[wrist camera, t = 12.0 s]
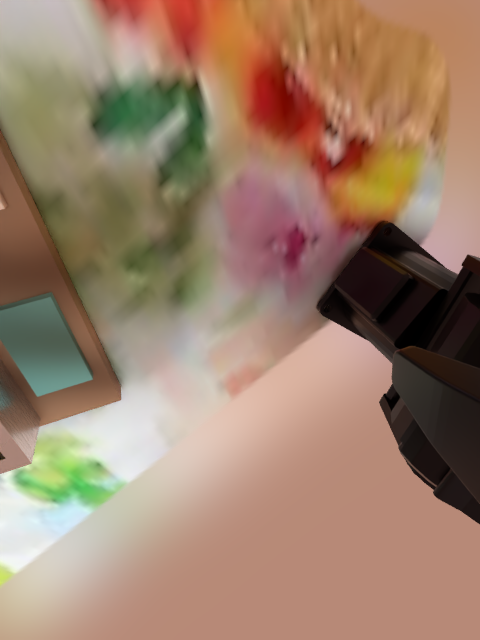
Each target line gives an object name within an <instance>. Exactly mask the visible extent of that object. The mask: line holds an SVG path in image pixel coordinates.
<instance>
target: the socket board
mask: <svg viewBox="0 0 480 640" xmlns="http://www.w3.org/2000/svg"><path fill="white" fill-rule="evenodd" d="M0 358H1V360H2V361H3V363H4V364H5V366H6V367H7V369H8V370H9V372H10V373H11V375H12V376H13V378H14V379H15V381H16V382H17V384H18V385H19V387H20V388H21V390H22V391H23V393H24V394H25V396H26V397H27V399H28V400H29V402H30V403H31V405H32V406H33V408H34V409H35V411H36V412H37V414H38V415H39V417H40V418H41V420H40V425H39V427H40V426H43V425H46V424H49V423H52V422H55V421H58V420H61V419H64V418H67V417H70V416H73V415H76V414H79V413H82V412H86V411H89V410H92V409H95V408H98V407H101V406H104V405H107V404H110V403H113V402H116V401H119V400H121V386H120V384H119V382H118V380H117V377H116V375H115V373H114V371H113V369H112V367H111V365H110V362H109V360H108V358H107V356H106V354H105V352H104V350H103V348H102V345H101V343H100V341H99V339H98V337H97V335H96V333H95V330H94V328H93V326H92V324H91V322H90V320H89V318H88V316H87V313H86V311H85V309H84V307H83V305H82V303H81V301H80V298H79V296H78V294H77V292H76V290H75V288H74V286H73V284H72V281H71V279H70V277H69V275H68V273H67V271H66V269H65V266H64V264H63V262H62V260H61V258H60V256H59V254H58V252H57V249H56V247H55V245H54V243H53V241H52V239H51V237H50V234H49V232H48V230H47V228H46V226H45V224H44V222H43V220H42V217H41V215H40V213H39V211H38V209H37V207H36V205H35V202H34V200H33V198H32V196H31V194H30V192H29V190H28V188H27V185H26V183H25V181H24V179H23V177H22V175H21V173H20V170H19V168H18V166H17V164H16V162H15V160H14V158H13V156H12V153H11V151H10V149H9V147H8V145H7V143H6V141H5V138H4V136H3V134H2V132H1V130H0Z"/></svg>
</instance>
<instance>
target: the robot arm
mask: <svg viewBox="0 0 480 640" xmlns="http://www.w3.org/2000/svg"><path fill="white" fill-rule="evenodd" d="M386 228H387V231H386V232H385V233H384V230H385V229H386ZM462 266H463V268H462V269H461V271H460V273H459V274H456V273H454V272H452V271H450V270H449V269H447V268H445V267H444V266H443V265H442V264H441V263H440V262H438V261H437V260H436V259H435V258H434V257H432V256H431V255H430V254H429V253H428V252H426V251H425V250H424V249H423V248H422V247H420V246H419V245H418V244H417V243H416V242H414V241H413V240H412V239H411V238H410V237H408V236H407V235H406V234H405V233H404V232H402V231H401V230H400V229H399V228H398V227H396V226H395V225H394V224H392V223H390V222H388V221H383V222H381V223H380V224H379V225H378V226H377V227H376V229H375V230H374V231H373V233H372V234H371V235H370V237H369V238H368V239H367V241H366V242H365V243H364V244H363V246H362V247H361V248H360V250H359V251H358V252H357V254H356V255H355V256H354V258H353V259H352V260H351V261H350V263H349V264H348V265H347V267H346V268H345V269H344V271H343V272H342V273H341V275H340V276H339V277H338V279H337V280H336V281H335V282H334V284H333V285H332V286H331V288H330V289H329V290H328V292H327V293H326V294H325V296H324V297H323V298H322V299H321V301H320V302H319V304H318V306H317V309H318V311H319V312H320V313H321V314H322V315H323V316H325V317H326V318H328V319H330V320H332V321H334V322H335V323H337V324H339V325H341V326H343V327H345V328H346V329H348V330H350V331H352V332H353V333H355V334H357V335H359V336H361V337H363V338H364V339H366V340H368V341H370V342H371V343H372V344H373V345H374V346H375V347H376V348H377V349H378V350H379V351H380V352H381V353H382V354H383V355H384V356H385V357H386V358H387V359H388V360H389V361H390V362H391V363H392V364H393V366H392V383H393V384H392V385H391V387H390V389H389V390H388V392H387V393H386V394H384V395H383V397H382V398H381V400H380V402H379V403H380V406H381V408H382V410H383V412H384V414H385V417H386V419H387V421H388V423H389V425H390V428H391V430H392V432H393V434H394V437H395V439H396V441H397V443H398V445H399V450H400V452H401V454H402V456H403V457H404V459H405V460H406V462H407V464H408V465H409V466H410V468H411V469H412V471H413V473H414V474H415V475H417V476H418V477H419V478H420V479H421V480H422V481H423V482H425V483H426V484H427V485H428V486H430V487H431V488H432V489H433V490H434V492H433V493H434V495H435V496H436V497H437V498H438V499H440V500H442V501H443V502H445V503H447V504H449V505H451V506H452V507H455V508H456V509H458V510H460V511H462V512H463V513H464V514H466V515H467V516H469V517H470V518H471V519H473V520H475V521H476V522H477V523H479V524H480V258H478V257H475V256H471V255H467V257H466V258H465V260H464V262H463V263H462ZM327 305H328V307H327V308H326V309H324V308H325V307H326V306H327Z"/></svg>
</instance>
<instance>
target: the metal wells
mask: <svg viewBox="0 0 480 640" xmlns="http://www.w3.org/2000/svg"><path fill="white" fill-rule="evenodd" d="M40 420H41V418H40V417H39V415H38V414H37V412H36V411H35V409H34V408H33V406H32V405H31V403H30V402H29V400H28V399H27V397H26V396H25V394H24V393H23V391H22V390H21V388H20V387H19V385H18V384H17V382H16V381H15V379H14V378H13V376H12V375H11V373H10V372H9V370H8V369H7V367H6V366H5V364H4V363H3V361H2V360H1V358H0V474H2V473H4V472H7V471H10V470H13V469H16V468H19V467H22V466H25V465H28V464H31V463H32V459H33V455H34V450H35V445H36V440H37V435H38V430H39V425H40Z"/></svg>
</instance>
